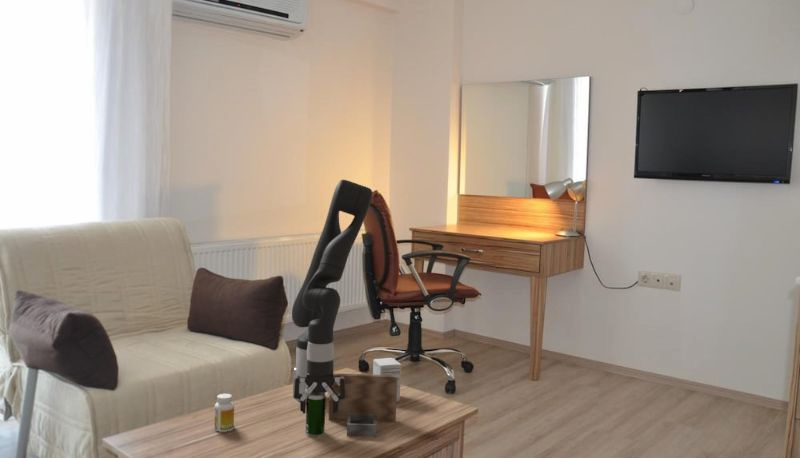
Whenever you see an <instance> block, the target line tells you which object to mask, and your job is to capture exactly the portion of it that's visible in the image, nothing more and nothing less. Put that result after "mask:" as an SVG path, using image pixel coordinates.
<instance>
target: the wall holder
mask: <svg viewBox="0 0 800 458" xmlns="http://www.w3.org/2000/svg"><path fill="white" fill-rule="evenodd" d="M333 375H334V377H335V378H337V377H341V376H344V382H345V398H344V399H340V400H339V401H338V411H337V412H336V414H333V400H334V399H333V398H332V396H330V395H329V397H328V398H329V399H328V400H329V402H328V403H329V404H328V405H329V406H328V421H331V422H334V421H336V422H340V421H341V422H346V437H353V438H354V437H358V438H359V437H361V438H376V437H377V435H376V434H377V432H376V431H377V423H396V421H397V420H396V419H397V402H398V401H397V378H398V377H397V375H373V374H367V373H366V374H361V373H360V374H359V373H334V372H333ZM332 387H333V388H334V390H335V391H336V393H337V394H340V385H338V384H337V382H334V384H333V385H332Z"/></svg>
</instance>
